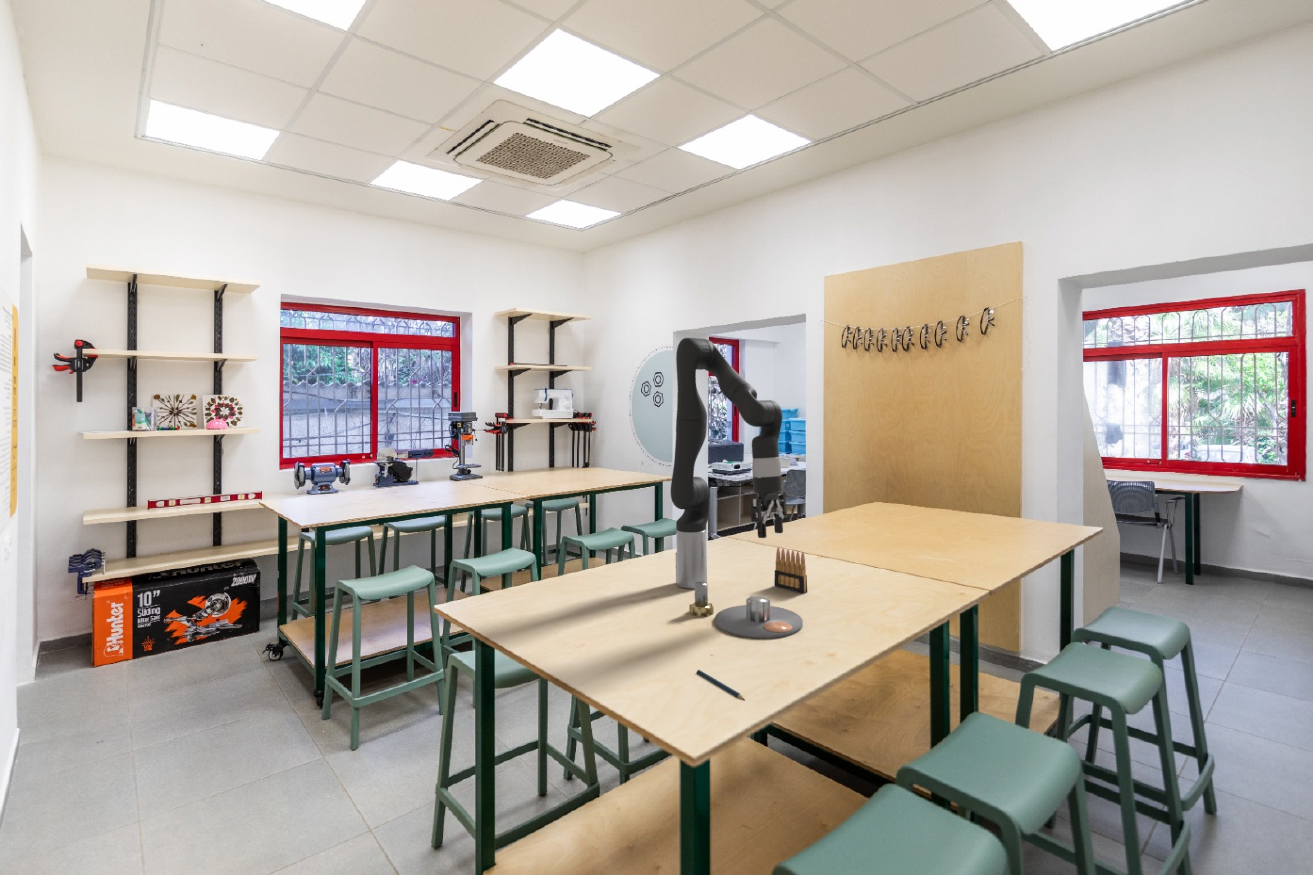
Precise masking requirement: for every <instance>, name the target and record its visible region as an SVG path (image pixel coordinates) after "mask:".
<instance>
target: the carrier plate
mask: <svg viewBox="0 0 1313 875" xmlns="http://www.w3.org/2000/svg"><path fill="white" fill-rule="evenodd" d="M714 624H715V626H716V627H717V628H718V629H719V630H721V631H722V632H725V633H726V634H729V635H732V636H736V637H741V638H742V637H743V638H748V639H757V640H758V639H759V640H760V639H761V640H762V639H763V640H765V639H766V640H769V639H772V640H773V639H780V638H785V637H788V636H789V637H790V636H792V635H795V634H797V633H799V632H800V631H801V630H802V628H803V627H804V626H803V618H802V617H801V615H800V614H798V613H796V612H794V611H792V610H790V609H787V608H784V607H780V606H774V605H771V599H769V597H768V596H762V595H757V596H756V595H755V596H753V595H751V596H749V597H746V599H745V604H743V605H736V606H731V607H728V608H727V607H726V608H724V609H722V610H720V611H718V612H717V613H716V614H715V617H714Z"/></svg>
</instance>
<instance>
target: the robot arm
mask: <svg viewBox="0 0 1313 875" xmlns="http://www.w3.org/2000/svg"><path fill="white" fill-rule="evenodd" d="M676 347H677V348H676V357H675V361H676V362H675V363H676V381H677V401H676V402H677V403H676V404H677V407H676V420H675V422H676V423H675V445H674V446H675V447H674V461H673V467H672V468H673V469H672V476H671V483H670V499H671V502H672V504H673V506H675V508H677V509H678V510H684V511H683V513H682V514H681V516H680V517H679V518H678V519H677V520H676V524H675V525H676V526H675V527H676V528H675V529H676V532H675V533H676V534H675V535H676V552H675V583H676V584H677V586H678V587H679V588H682V589H689V590H690V589H693V590H695V583H696V582H707V583H708V565H707V564H708V563H707V562H708V555H707V554H708V553H707V552H708V551H707V546H708V545H707V523H708V522H709V519H710V518H709V517H710V488H709V485H708V483H707V482H706V480H705V479H704V478H702V477H700V476H694V474H695V465H696V461H697V458H698V456H699V453H700V452H701V450H702V447H703V446H704V442H705V440H706V436H707V426H708V412H707V409H706V406H705V405H704V404H705V403H704V401H703V399H702V398H701V395H700V393H699V391H698V388H697V381H696V380H697V378H696V377H697V370H699V371H700V370H701V371H703V370H705V371H707V372H708V373H710V374H711V375H713V376H714V377H715V378H716V380H717V382H718V383H717V384H718V387H719V389H720V391H721V393H722V394H723V395H724V397H725V398H727V399H728V401H730V402H731V403H732V404H733V405H734V406H735V407H736V409H737V411H738V413H739V414H740V416H741V418H742V420H743V421H744V422H745V423H746V424H748V425H750V426H751V427H755V428H756V427H757V428H760V427H761V430H760V432H759V435H756V436H755V437H753V438H752V439H751V453H752V454H751V455H752V456H751V457H752V465H751V470H752V484H753V485H752V486H753V493H755V494H756V495H757V498H751V499H750V520H751V522H752V523H755V524H756V528H757V537H758V538H759V539H766V538H767V524H766V522H767V518H768V517H769V516H770V514H771V515H772V516H773V527H774V528H773V529H774V533H776V534H783V532H784V526H783V525H784V524H783V520H784V518H785V517H786V516H787V514H788V511H787V501H786V494H784V493H781V492H783V483H782V480H783V479H782V467H781V462H780V452H779V451H780V450H779V449H780V448H779V439H780V435H781V428H782V424H783V423H782V422H783V412H782V408H781V406H780V404H779V403H778V402H777V401H776V400H772V399H771V400H770V399H768V400H767V399H766V400H763V399H762V400H760V399H759V400H758V392H757V389H755V388H754V387H753V386H752V385H751V384H750V383H749V382H748V381H747V380H746V379H744V378H743V377H742V376H741V375H740V374H739V373H738V372H737V371H736V370H735V369H734V368H733V367H732V365H730V363H729V362H728V360H727V359H726V358H725V356H724V355H723V354H722V353H721V351H720V350H719V349H718V347H717V346H716V345H715V344H714V343H713V342H712V341H711V340H709V339H706V338H697V337H696V338H695V337H684V338H682V339H681V340H680V341H679V343H678V344H677V346H676Z"/></svg>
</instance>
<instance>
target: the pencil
mask: <svg viewBox="0 0 1313 875" xmlns="http://www.w3.org/2000/svg"><path fill="white" fill-rule="evenodd" d="M696 674H697V675H699V676H701V677H702V678H704V679H705V680H707V681H709V682H711V683H712V684H714V685H716V686H717V687H719V688H721V689H723V690H724V691H725V692H727V693H729V694H731V695H732V696H734V697H736V698H737V699H741V700H744V701H745V700H746V699H745V698H744V696H742V694H741V693H740V692H738V691H736V690H735V689H733V688H731V687H729V686H728V685H726V684H725V683H723V682H721V681H719V680H717V679H716V678H714V677H712V676H710V675H709V674H707V673H705V672H703V671H702V670H700V669H697V670H696Z"/></svg>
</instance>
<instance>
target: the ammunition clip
mask: <svg viewBox="0 0 1313 875" xmlns="http://www.w3.org/2000/svg"><path fill="white" fill-rule="evenodd" d="M785 551H786V552H785ZM790 552H791V553H790ZM775 556H776V557H775V569H774V583H773V584H774V585H773V586H775V588H779V589H783V590H787V591H792V592H794V591H795V593H798V594H799V593H800V594H807V593H808V578H807V577H808V576H807V568H806V557H805V553H804V552H803V551H802V552H801V555H800V552H799V551H797V552H796V554H795V551H794V550H792V551H790V550H789V549H787V550H785V549H784V548H782V549H781V550H780V547H777V549H776V554H775Z"/></svg>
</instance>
